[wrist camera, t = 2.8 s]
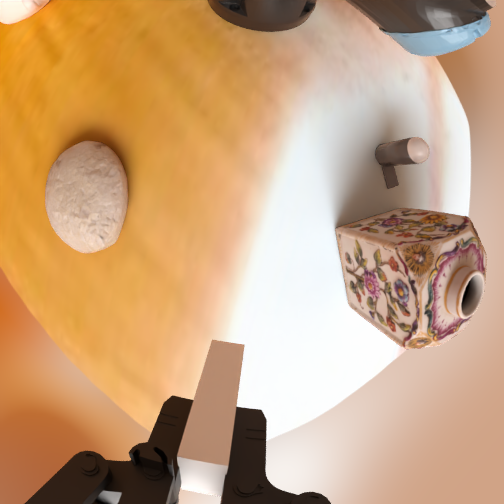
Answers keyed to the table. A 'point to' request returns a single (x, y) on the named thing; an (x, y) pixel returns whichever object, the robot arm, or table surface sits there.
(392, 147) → the pepper shaker
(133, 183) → the table surface
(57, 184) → the stone
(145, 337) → the table surface
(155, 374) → the table surface
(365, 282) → the decorative jar
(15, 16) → the teapot
